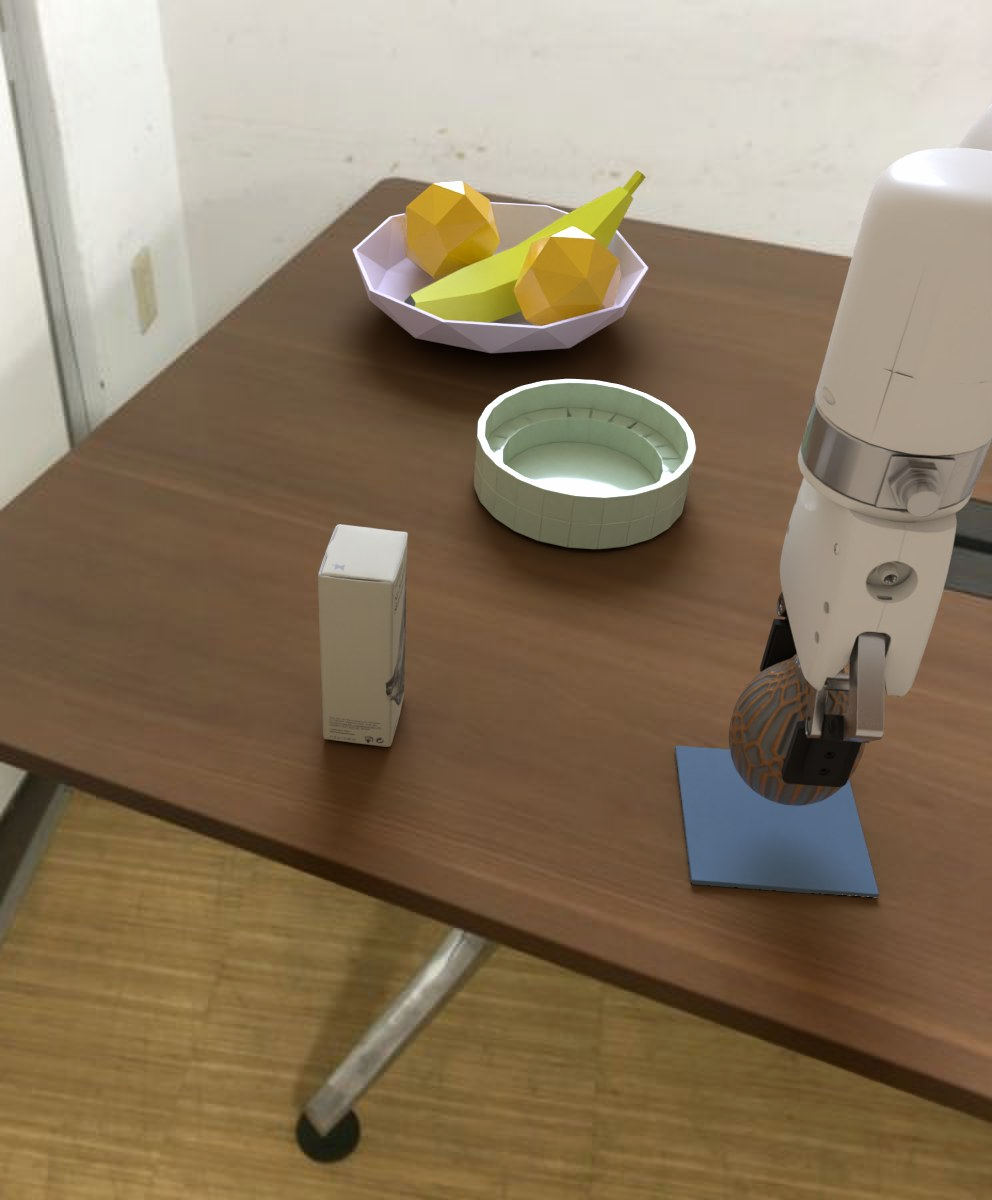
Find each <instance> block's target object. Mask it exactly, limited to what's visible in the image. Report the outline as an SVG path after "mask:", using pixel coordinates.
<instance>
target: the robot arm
mask: <svg viewBox="0 0 992 1200" xmlns="http://www.w3.org/2000/svg"><path fill="white" fill-rule="evenodd" d="M866 203H867V204H866V205H865V209H864V212H863V215H862V219H861V222H860V227H859V230H858V234H857V238H856V242H855V244H854V245H855V246H854V249H853V253H852V255H851V260H850V263H849V267H848V270H847V275H846V278H845V282H844V286H843V289H842V293H841V297H840V301H839V304H838V307H837V311H836V315H835V319H834V322H833V327H832V331H831V334H830V338H829V342H828V345H827V349H826V353H825V356H824V360H823V363H822V367H821V370H820V375H819V378H818V382H817V386H816V389H815V392H814V395H813V399H812V402H811V406H810V410H809V413H808V417H807V419H806V420H807V421H806V424H805V428H804V432H803V435H802V439H801V443H800V446H799V449H798V455H797V464H798V467H799V471H800V473H801V474H802V476H803V478H802V481H801V484H800V487H799V490H798V492H797V496H796V499H795V501H794V505H793V508H792V512H791V515H790V518H789V522H788V525H787V529H786V533H785V537H784V541H783V546H782V550H781V555H780V561H779V580H780V588H781V592H780V594H779V596H778V598H777V602H776V613H777V614H776V615H777V617H778V618H773V619H772V623H771V627H770V631H769V634H768V637H767V641H766V644H765V647H764V648H765V649H764V652H763V654H762V655H763V656H762V659H761V662H760V666H759V671H760V672H759V673H761V672H762V671H764V670H765V669H767V668H769V667H771V666H773V665H775V664H778V663H780V662H783V661H785V660H788V659H791V658H792V657H793V656H794V655H795V654H796V653H797V655H798V658H799V662H800V666H801V669H802V672H803V675H804V677H805V679H806V680H807V681H808V682H809V683H810V691H809V699H808V706H807V713H806V720H803V721H797V724H796V727H795V730H794V733H793V736H792V739H791V742H790V745H789V748H788V751H787V754H786V757H785V760H784V764H783V767H782V770H781V774H782V779H783V781H784V782H785V783H788V784H799V785H813V786H826V787H842V786H844V785H846V783H847V781H848V778H849V776H850V773H851V770H852V768H853V765H854V763H855V760H856V757H857V755H858V752H859V749H860V747H861V744H862V742H864V743H865V744H869V743H870V742H875V741H881V740H882V739H883V737H884V733H885V695H886V696H890V697H899V698H901V697H904V696H905V695H906V694H907V693H909V691H910V690H911V689H912V687H913V684H914V682H915V679H916V677H917V675H918V671H919V668H920V666H921V662H922V659H923V656H924V653H925V651H926V647H927V645H928V642H929V638H930V636H931V633H932V630H933V626H934V623H935V619H936V618H937V617H936V616H937V613H938V611H939V607H940V603H941V600H942V596H943V593H944V589H945V585H946V581H947V577H948V574H949V570H950V566H951V565H950V564H951V559H952V555H953V551H954V545H955V538H956V531H957V525H958V521H957V514H956V513H957V512H959V511H961V510H962V509H963V508H964V507H965V506H966V505H967V504H968V503H969V501H970V499H971V498H972V497H971V496H972V494H973V492H974V489H975V486H976V484H977V481H978V479H979V476H980V473H981V471H982V468H983V466H984V463H985V460H986V458H987V455H988V453H989V450H990V448H991V446H992V102H991V103H990V104H989V105H988V107H987V108H986V109H985V110H984V111H983V113H982V114H981V115H980V116H979V117H978V118H977V119H976V120H975V122H974V123H973V124H972V125H971V127H970V128H969V129H968V131H967V132H966V134H965V136H964V137H963V139H962V140H961V141H960V143H959V144H958V145H957V147H937V148H927V149H923V150H919V151H913V152H912V153H909V154H907V155H904V156H902V157H900V158H898V159H897V160H895V161H893V162H892V163H890V164H889V165H888V167H886V168H885V169H884V170H883V171H882V173H880V175H879V176H878V177H877V179H876V181H875V182H874V185H873V187H872V189H871V191H870V194H869V196H868V199H867V202H866ZM847 665H849V667H848V669H849V670H848V671H849V673H847V672H845V673H839V672H840V671H841V670H842V669H843V668H844V669H845V667H846V666H847ZM828 690H834V691H848V692H849V706H848V710H847V712H846V713H844V714H843V715H836V714H825V708H826V701H827V694H828ZM885 693H886V694H885Z"/></svg>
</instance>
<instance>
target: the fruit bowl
mask: <svg viewBox="0 0 992 1200" xmlns="http://www.w3.org/2000/svg"><path fill="white" fill-rule="evenodd" d="M645 179H646V176H645V174H644V173H643V172H642V171H639V170H638V169H636V171H634V173H633V174H632V176H631V177H630V178H629V179H628V181H627V182H626V183H625V185H624V186H621V185H620V186H617V187H616V188H614V189H612V190H610V191H608V192H606V193H604V194H602V195H601V196H599V197H596V198H595V199H593V200H591V201H589V202H587V203H585V204H584V205H581V206H579V207H577V208H575V209H573V210H571V211H570V212H567V211H564V210H561V209H558V208H557V207H556V208H555V207H553V206H550V205H547V204H546V205H545V204H531V203H530V204H529V203H510V202H494V201H491V200H490V198H488V197H486V196H485V195H483V194H482V193H480V192H479V191H477V190H476V189H475V188H473V187H472V186H470V185H469V184H467V183H466V182H465V181H463V180H459V181H458V180H457V181H446V182H433V183H432V184H430V185H429V186H428V187H427V188H426V189H425V190H424V191H423V192H421V193H420V194H419V195H418V196H417V197H416V198H415V199H413V200H412V201H410V203H409V204H407V205H406V208H405V212H404V213H400V214H395V215H390V216H388V218H386V219H385V220H384V221H383V222H382V223H380V224H379V226H377V228H375V229H374V230H373V231H372V232H370V233H369V234H368V235H367V236H366V237H365V238H364V239H363V240H362V241H361V242H359V244H357V245H356V246H355V247H353V248H352V252H353V253H352V254H353V255H354V258H355V261H356V265H357V268H358V270H359V274H360V276H361V281H362V283H363V285H364V288H365V291H366V294H367V297H368V301H369V302H371V303H372V304H373V305H375V306H376V307H377V308H378V309H379V310H381V311H382V312H383V313H384V314H385V315H387V316H388V317H389V318H390V319H391V320H392V321H394V323H396V324H397V325H398V326H400V327H401V328H402V329H403V330H405V331H406V332H407V333H409V335H411V336H412V337H413V338H414V339H417V340H418V339H419V340H424V341H429V342H432V343H439V344H444V345H448V346H453V347H459V348H463V349H468V350H473V351H478V352H484V353H488V354H504V353H517V352H519V353H520V352H531V351H533V352H535V351H547V350H548V351H549V350H561V349H563V350H564V349H570V348H573V347H574V346H576V345H577V344H579V343H581V342H583V341H584V340H586V339H588V338H589V337H591V336H593V335H594V334H596V333H598V332H599V331H601V330H603V329H604V328H606V327H608V326H609V325H611V324H613V323H615V322H616V321H617V320H620V319H621V318H623V317H624V315H625V314H626V311H627V310H628V308H629V306H630V305H631V304H630V303H631V302H632V300H633V298H634V296H635V294H636V293H637V291H638V289H639V287H640V285H641V283H642V282H643V279H644V278H645V276H646V274H647V272H648V270H649V266H647V264H646V263H645V261H643V259H642V258H641V257H640V255H638V254H637V252H636V251H635V249H633V247H632V246H631V244H629V242H628V241H627V240H626V239H625V237H624V236H623V235H622V234H621V233H620V231H619V227H620V225H621V223H622V221H623V219H624V217H625V216H626V214H627V212H628V210H629V208H630V206H631V204H632V203H633V201H634V197H633V194H634V193H635V192H636V190H637V189H638V188H639V187H640V186H641V184H642V183H643V182H644V180H645Z"/></svg>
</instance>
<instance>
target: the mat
mask: <svg viewBox="0 0 992 1200" xmlns="http://www.w3.org/2000/svg"><path fill="white" fill-rule="evenodd" d="M675 751H676V757H675V760H676V759H677V765H676V768H677V767H678V773H677V777H678V776H679V782H678V785H679V784H680V790H679V793H680V792H681V798H680V801H681V800H682V807H681V813H682V812H683V815H682V821H683V820H684V823H683V831H684V830H685V832H684V838H685V837H686V840H685V846H687V848H686V856H687V855H688V856H687V863H688V862H689V865H688V872H689V881H690V880H691V881H690V884H691V883H692V884H691V885H696V886H708V885H710V887H720V888H722V887H723V888H734V887H738V888H737V889H750V890H759V889H761V891H772V890H776V891H775V892H784V893H785V892H786V893H787V892H788V893H799V894H811V893H815V894H814V895H824V894H838V895H842V894H843V895H851V896H855V895H857V896H864V897H867V896H869V897H878V898H879V895H880V893H879V889H878V884H877V881H876V878H875V873H874V869H873V866H872V862H871V858H870V854H869V850H868V846H867V842H866V839H865V835H864V831H863V827H862V823H861V820H860V817H859V812H858V807H857V804H856V800H855V797H854V792H853V789H852V785H851V781H850V779H849V780H848V781H847V783H846V785H844V786H843V787H842V788H841V789H840V790H838V791H837V792H836V793H835V794H833V795H832V796H830V797H829V798H827V799H825V800H823V801H820V802H817V803H813V804H809V805H802V806H792V805H783V804H779V803H776V802H773V801H770V800H768V799H766V798H764V797H762V796H761V795H759V794H758V793H756V792H755V791H753V790H752V789H751V788H750V787H749V786H748V785H747V784H746V783H745V782H744V781H743V779H742V778H741V777H740V775H739V774H738V772H737V770H736V768H735V766H734V763H733V760H732V758H731V753H730V748H729V749H727V748H713V747H701V746H700V747H699V746H685V745H675V746H674V752H675ZM682 809H683V811H682ZM683 818H684V819H683ZM684 828H685V829H684ZM819 893H821V894H819Z"/></svg>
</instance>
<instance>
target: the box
mask: <svg viewBox="0 0 992 1200" xmlns="http://www.w3.org/2000/svg"><path fill="white" fill-rule="evenodd" d="M408 536H409V533H408V532H407V531H400V530H399V531H398V530H391V529H383V528H374V527H367V526H360V525H359V526H358V525H349V524H340V523H338V524H337V525H336V526H335V527H334V529H333V532H332V534H331V537H330V540H329V542H328V544H327V547H326V550H325V553H324V556H323V558H322V561H321V565H320V567H319V570H318V573H317V582H318V583H317V591H318V593H317V595H318V596H317V597H318V618H319V619H318V620H319V623H318V624H319V648H320V649H319V650H320V652H319V653H320V675H321V677H320V678H321V700H322V701H321V704H322V706H321V707H322V737H323V739H324V740H330V741H338V742H345V743H352V744H361V745H368V746H375V747H385V748H389V747H392V744H393V740H394V737H395V734H396V731H397V728H398V724H399V719H400V715H401V712H402V706H403V703H404V698H405V697H404V696H405V684H406V683H405V681H406V677H405V676H406V635H407V567H408V566H407V564H408V561H407V560H408V540H409V539H408V538H409V537H408Z"/></svg>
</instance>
